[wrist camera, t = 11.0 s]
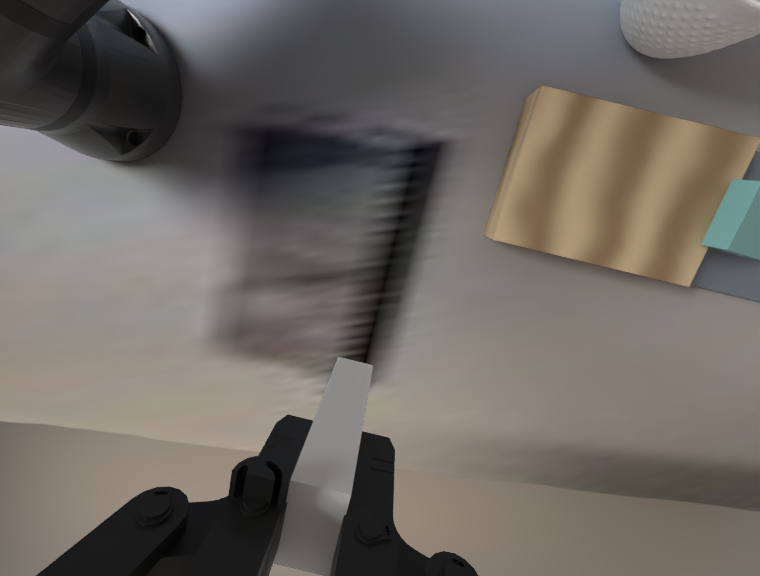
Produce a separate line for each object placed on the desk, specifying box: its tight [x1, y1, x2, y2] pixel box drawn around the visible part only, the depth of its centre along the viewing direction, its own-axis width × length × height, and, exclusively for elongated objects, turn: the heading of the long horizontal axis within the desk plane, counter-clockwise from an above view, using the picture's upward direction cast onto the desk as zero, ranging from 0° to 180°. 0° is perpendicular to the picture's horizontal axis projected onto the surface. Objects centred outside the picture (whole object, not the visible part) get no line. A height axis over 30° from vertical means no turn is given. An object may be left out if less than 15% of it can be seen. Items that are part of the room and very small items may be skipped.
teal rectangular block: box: [701, 179, 760, 260], centre depth 34 cm, size 9×6×2 cm
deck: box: [484, 85, 760, 287], centre depth 35 cm, size 20×14×4 cm
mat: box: [690, 151, 760, 302], centre depth 37 cm, size 14×14×1 cm
